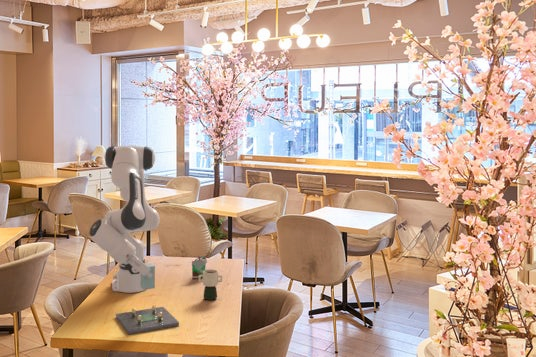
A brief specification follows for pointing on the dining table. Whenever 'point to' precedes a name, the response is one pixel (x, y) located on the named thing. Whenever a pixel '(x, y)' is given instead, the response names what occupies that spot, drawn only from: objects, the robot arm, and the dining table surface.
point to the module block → (148, 279)
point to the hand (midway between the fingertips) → (149, 274)
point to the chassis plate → (146, 320)
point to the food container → (198, 267)
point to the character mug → (210, 283)
